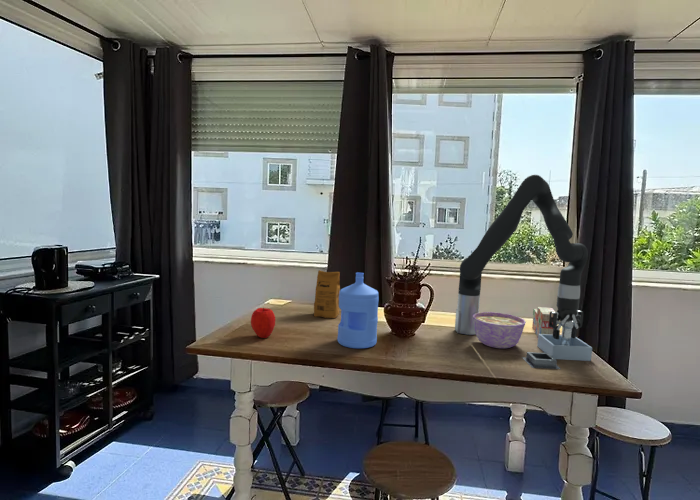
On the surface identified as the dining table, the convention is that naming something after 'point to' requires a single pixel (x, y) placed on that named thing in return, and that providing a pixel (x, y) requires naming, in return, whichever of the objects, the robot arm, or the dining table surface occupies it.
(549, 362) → the socket block
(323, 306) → the coffee package
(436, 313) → the dining table surface
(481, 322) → the bowl of food
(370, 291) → the water jug
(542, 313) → the stack of blocks
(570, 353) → the bin
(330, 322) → the dining table surface
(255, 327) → the apple
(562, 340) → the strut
